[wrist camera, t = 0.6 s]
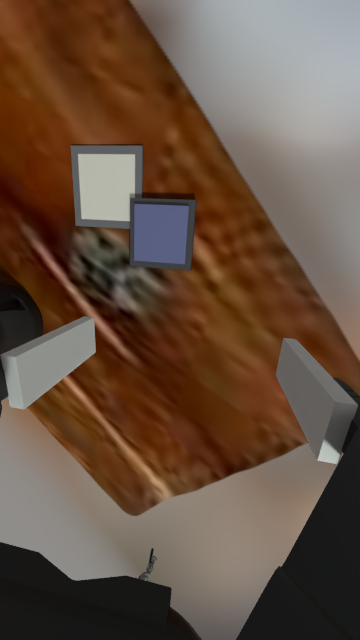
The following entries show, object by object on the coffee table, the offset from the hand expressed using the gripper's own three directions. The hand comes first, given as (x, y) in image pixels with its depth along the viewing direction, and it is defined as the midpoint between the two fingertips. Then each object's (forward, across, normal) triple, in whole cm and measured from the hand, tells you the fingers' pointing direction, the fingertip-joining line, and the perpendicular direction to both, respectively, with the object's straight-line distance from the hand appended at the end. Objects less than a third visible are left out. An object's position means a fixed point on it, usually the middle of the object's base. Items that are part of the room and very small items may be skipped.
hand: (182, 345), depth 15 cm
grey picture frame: (+26, -18, +16) cm, 36 cm away
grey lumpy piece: (+59, -18, -152) cm, 164 cm away
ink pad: (+26, -8, +9) cm, 29 cm away
